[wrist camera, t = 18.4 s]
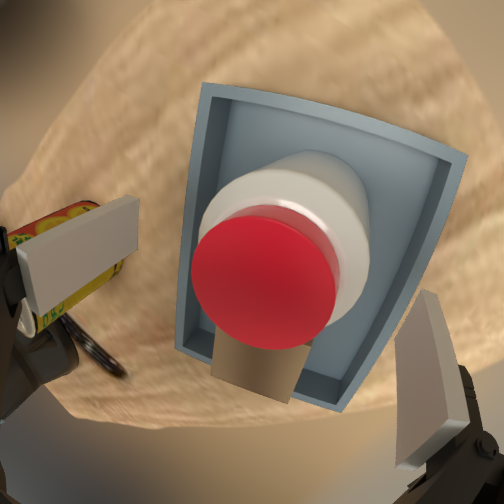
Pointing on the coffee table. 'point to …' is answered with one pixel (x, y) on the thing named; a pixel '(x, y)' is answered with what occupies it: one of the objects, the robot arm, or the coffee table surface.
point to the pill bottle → (284, 250)
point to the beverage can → (34, 324)
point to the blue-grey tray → (381, 217)
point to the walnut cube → (258, 366)
